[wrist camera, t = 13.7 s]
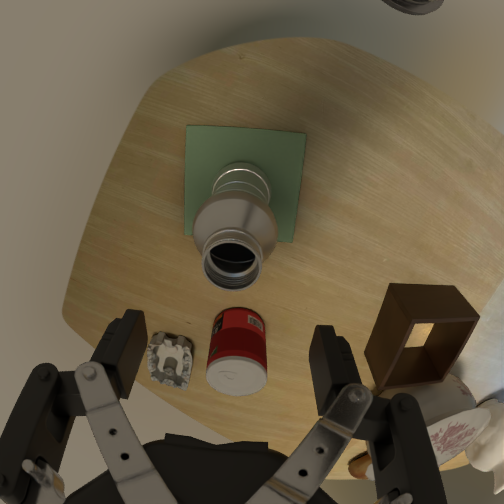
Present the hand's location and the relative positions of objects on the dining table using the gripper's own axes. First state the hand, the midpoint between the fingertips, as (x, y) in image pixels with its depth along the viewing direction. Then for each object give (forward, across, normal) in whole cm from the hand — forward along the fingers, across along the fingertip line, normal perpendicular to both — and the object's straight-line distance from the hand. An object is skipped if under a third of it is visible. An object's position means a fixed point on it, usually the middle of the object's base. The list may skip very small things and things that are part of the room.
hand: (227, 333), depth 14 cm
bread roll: (+26, -41, +72) cm, 87 cm away
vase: (+27, -77, +57) cm, 99 cm away
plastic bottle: (+26, 0, 0) cm, 26 cm away
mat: (+27, 0, 0) cm, 27 cm away
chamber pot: (+27, -39, +41) cm, 62 cm away
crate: (+27, -30, +20) cm, 45 cm away
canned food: (+27, -1, +22) cm, 35 cm away
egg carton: (+27, +10, +30) cm, 41 cm away
